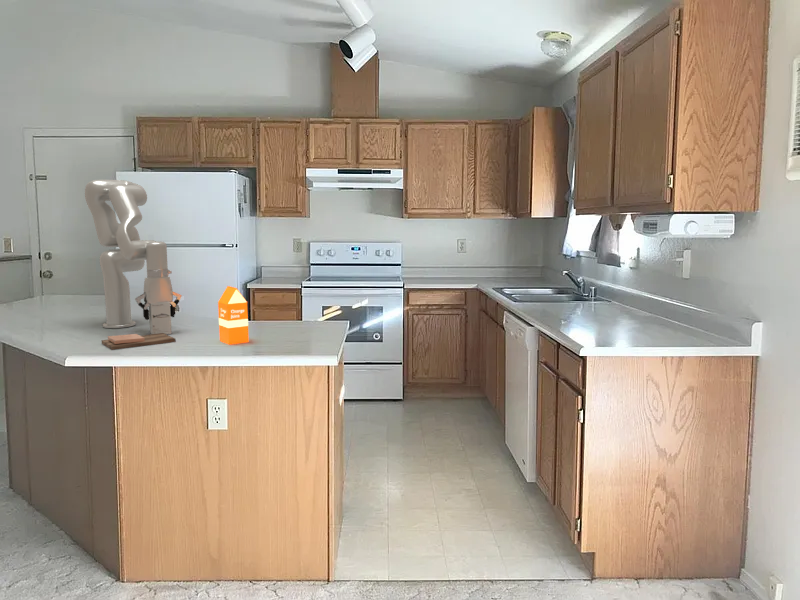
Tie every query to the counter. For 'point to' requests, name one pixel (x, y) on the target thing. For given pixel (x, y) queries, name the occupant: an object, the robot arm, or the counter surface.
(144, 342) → the board
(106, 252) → the robot arm
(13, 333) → the counter surface
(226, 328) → the orange juice
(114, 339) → the tile
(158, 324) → the supplement box
